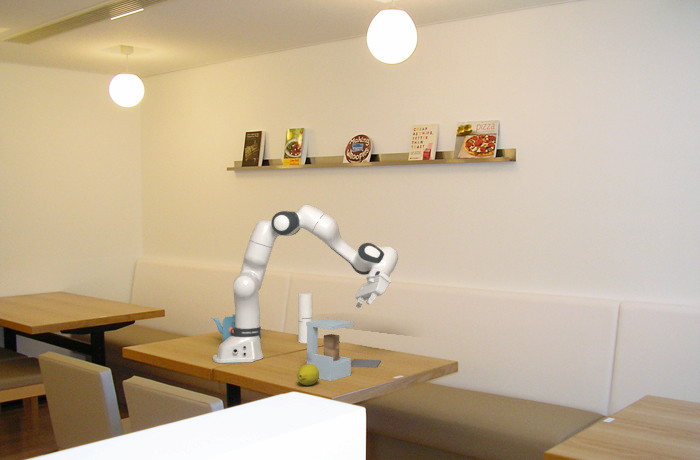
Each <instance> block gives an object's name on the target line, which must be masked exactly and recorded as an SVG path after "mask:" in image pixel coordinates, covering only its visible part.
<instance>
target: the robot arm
mask: <svg viewBox="0 0 700 460" xmlns="http://www.w3.org/2000/svg"><path fill="white" fill-rule="evenodd" d="M255 224H256V225H255V227H254V228H253V230H252V232H251V235H250V238H249V240H248V243H247V247H246V249H245V252H244V255H243V260H242V264H241V268H240V273H239V275H237V276H236V277H235V279H234V280H233V283H232V288H233V301H234V313H235V327H234V328H232V327H230V328H229V331H230V332H231V336H230V337H229V338H227V339H226V340H225V341H224V342H223V341H222V342H221V343H220V344H219V346H218V349H217V354H214V355H213V356H212V361H213V362H214V363H218V364H227V363H228V364H230V363H231V364H233V363H254V362H255V361H259V360H262V359H263V358H264V354H263V351H262V345H261V344H262V343H261V338H262V329H261V308H260V300H259V291H260V290H261V287H262V285H263V282H264V278H265V273H266V270H267V266H268V263H269V260H270V257H271V253H272V252H273V251H272V250H273V248H274V245H275V242H276V239H277V237H279V236H284V237H289V236H294V235H296V234H297V233H299V231H300V229H304V230H306V231H307V232H310V233H311V235H314V236H315V237H316V238H318V239H319V240H321V241H322V242H323V243H324V244H325V245H327V247H329V248H330V249H331V250H332V251H334V252H335V253H336V254H338V256H340V257H341V258H342V259H344V260H345V261H346V262H347V263H349V264H350V266H351V267H352V268H353V270H354V271H355V272H356V273H358V274H359V275H363V276H365V275H367V276H366V281H367V282H366V283H363V284H362V285H361V286H360V287H359V289H358V290H357V292H356V294H355V296H354V298H355V299H356V300H357V303H356V304H355V307H356V308H358V309H360V308H361V307H362V306H363V304H362V303H363V302H364V301H366V304H367V305H368V306H369V305H372V303H373V302H374V300H375V299H376V298H377V297H379V296H382V295H383V294H385V292H386V290H387V289H388V288H389V287H388V286H389V285H390V284H391V283H392V280H393V279H392V278H391V277H390V276H391V274H392V273H393V272H394V270H395V268H396V266H397V264H398V260H399V254H398V252H397V251H396V249H395V248H393V247H392V246H388V245H385V246H382V245H381V246H379V245H376V244H374V243H371V242H364V243H362V244H361V245H359V247H358V249H357V250H356V249H354V248H353V247H352V246H351V245H349V244H348V243H347V242H346V241H344V239H343V238H342V236H341V232H340V230H339V229H340V228H339V225H338V222H337V221H336V219H334V217H332V216H331V215H329V214H328V213H326V212H324V211H323V210H321V209H319V207H318V208H317V207H315V206H313V205H311V204H304V205H302V206H300V207H299V208H298V210H297V211H290V210H289V211H288V210H282V211H279V212H276V213H275V214H274V215H273V216H272V218H271V220H268V219H261V220H259V221H258V222H257V223H255Z"/></svg>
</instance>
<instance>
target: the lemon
mask: <svg viewBox="0 0 700 460" xmlns="http://www.w3.org/2000/svg"><path fill="white" fill-rule="evenodd" d="M296 378H297V381H298V382H299V383H300V384H302V385H303V386H311V385H314V384H316V382H317V381H318V380H319V379H320V378H319V370H318V368H317V367H316V366H315V365H313V364H307V363H306V364H303V365H301V366H300V367H299V368H298V369H297V373H296Z"/></svg>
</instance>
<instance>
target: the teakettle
mask: <svg viewBox="0 0 700 460" xmlns="http://www.w3.org/2000/svg"><path fill="white" fill-rule="evenodd" d="M210 319H211V320H212V321H214V322H215V324H216V326H217V330H218V332H219V333H220V334H221V335H222V342H224V341H225V340H226V339H227V338H229V337H230V336H231V332H230V331H229V328H230V327H232V328H234V327H235V314H232V316H225V317H224V318H223V320H222V325H221V322H220V320H219V318H217V317H213V318H212V317H211V318H210Z"/></svg>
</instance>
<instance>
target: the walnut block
mask: <svg viewBox="0 0 700 460" xmlns="http://www.w3.org/2000/svg"><path fill="white" fill-rule="evenodd" d="M323 355H324V356H329V357H333V361H337V360H339V356H340V335H339V334H334V333H329V334H325V335H323Z"/></svg>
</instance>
